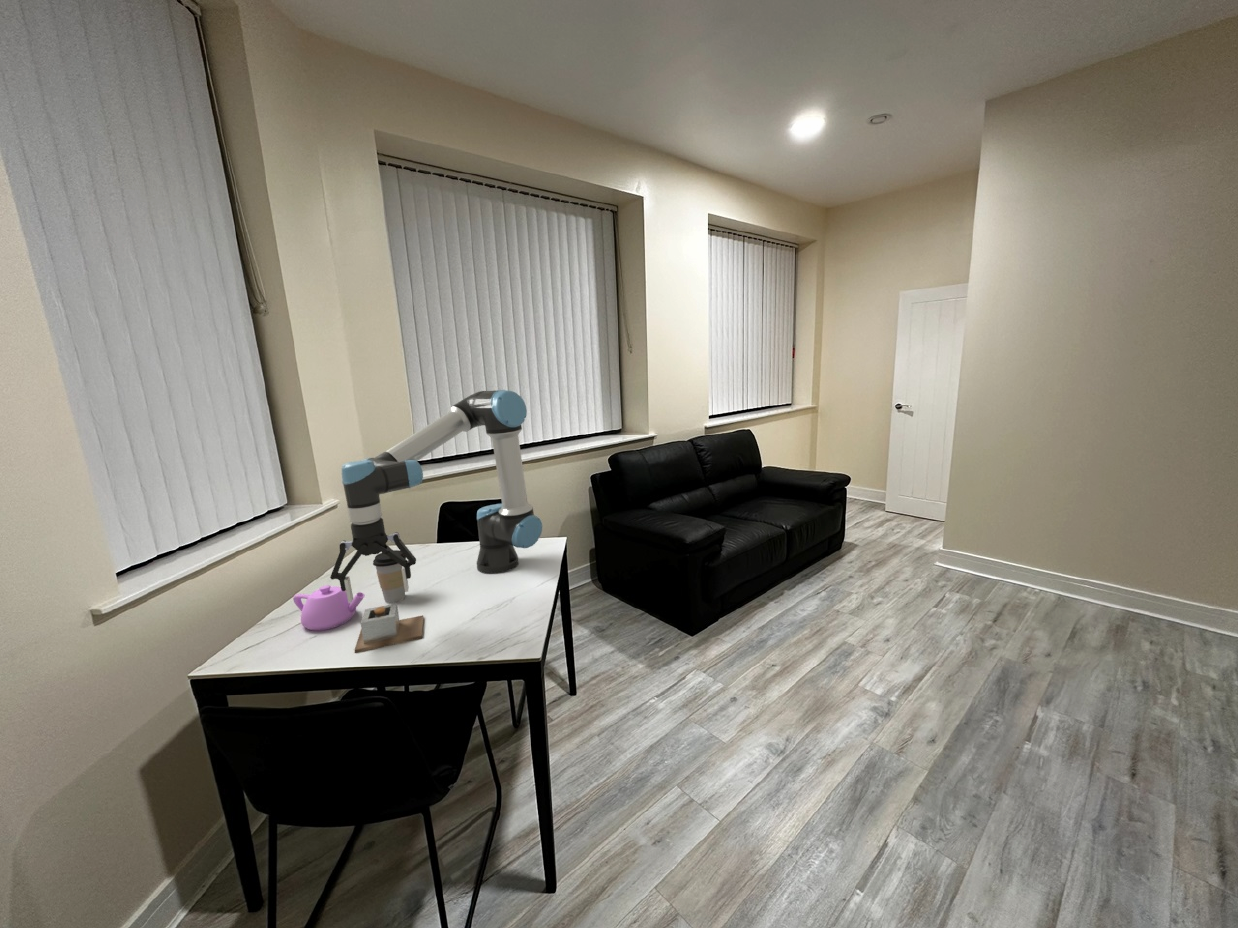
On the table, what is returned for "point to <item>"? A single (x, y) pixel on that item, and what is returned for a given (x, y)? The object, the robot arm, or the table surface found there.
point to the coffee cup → (390, 577)
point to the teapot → (326, 607)
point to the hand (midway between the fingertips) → (379, 595)
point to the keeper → (406, 632)
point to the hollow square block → (380, 624)
